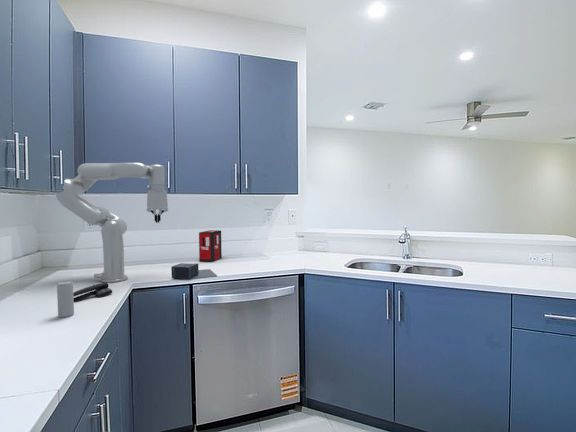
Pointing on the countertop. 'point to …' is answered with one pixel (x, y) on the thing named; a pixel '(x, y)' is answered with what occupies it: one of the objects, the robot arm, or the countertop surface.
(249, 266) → the countertop surface
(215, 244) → the cleaning product box
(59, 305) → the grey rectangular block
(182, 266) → the small box
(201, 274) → the mat
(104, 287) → the can opener
